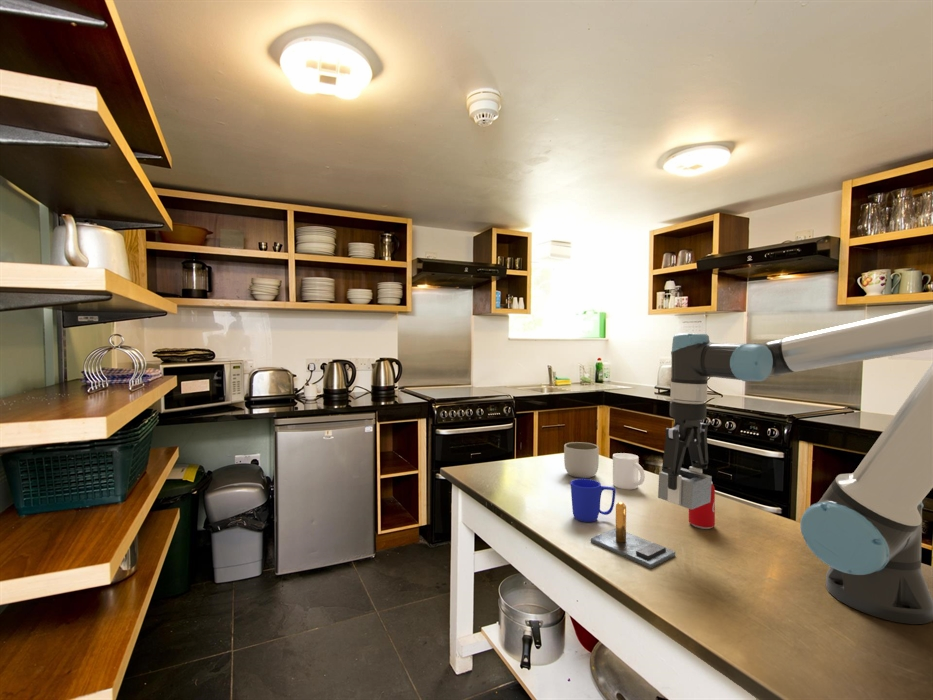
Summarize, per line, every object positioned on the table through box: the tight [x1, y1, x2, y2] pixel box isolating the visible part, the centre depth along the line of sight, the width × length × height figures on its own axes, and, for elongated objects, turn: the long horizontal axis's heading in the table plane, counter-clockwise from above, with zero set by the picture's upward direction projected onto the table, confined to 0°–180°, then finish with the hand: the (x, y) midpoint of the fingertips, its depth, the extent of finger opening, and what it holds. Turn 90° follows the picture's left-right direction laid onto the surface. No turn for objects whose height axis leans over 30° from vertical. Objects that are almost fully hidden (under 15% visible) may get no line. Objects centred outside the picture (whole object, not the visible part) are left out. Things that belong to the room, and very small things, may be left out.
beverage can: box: [688, 481, 716, 530], centre depth 119 cm, size 6×6×12 cm
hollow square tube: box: [657, 467, 713, 510], centre depth 103 cm, size 8×8×6 cm
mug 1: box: [570, 478, 616, 523], centre depth 124 cm, size 8×12×10 cm
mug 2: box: [612, 452, 646, 491], centre depth 151 cm, size 12×8×10 cm
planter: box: [563, 441, 600, 479], centre depth 165 cm, size 12×12×11 cm
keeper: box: [590, 501, 676, 570], centre depth 106 cm, size 16×10×10 cm, turn 36°
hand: (684, 498), depth 103 cm, fingers closed on hollow square tube, 8 cm apart
